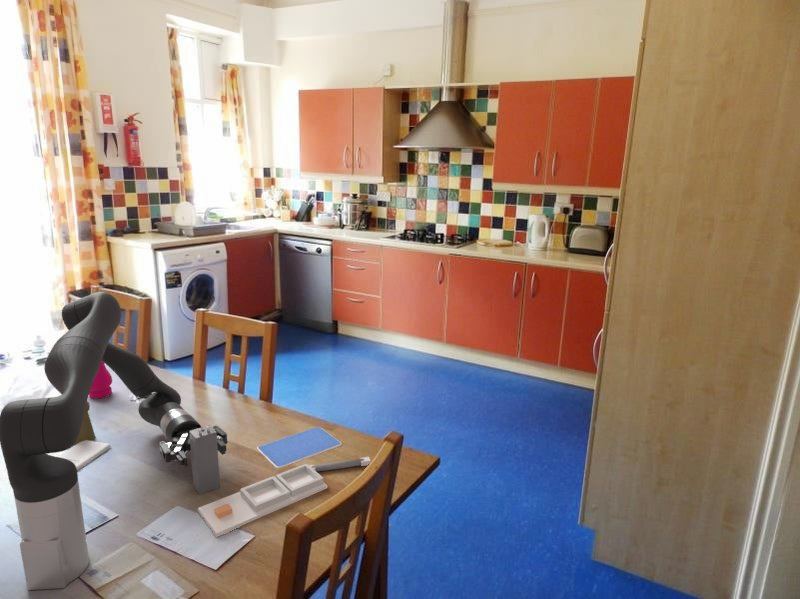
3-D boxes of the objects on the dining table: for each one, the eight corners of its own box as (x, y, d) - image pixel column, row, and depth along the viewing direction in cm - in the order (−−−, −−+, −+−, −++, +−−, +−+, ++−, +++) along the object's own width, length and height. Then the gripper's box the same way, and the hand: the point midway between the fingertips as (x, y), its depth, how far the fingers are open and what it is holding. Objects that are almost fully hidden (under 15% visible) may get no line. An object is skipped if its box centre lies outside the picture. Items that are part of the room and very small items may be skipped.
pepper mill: (88, 391, 165) (81, 331, 160) (114, 388, 168) (107, 329, 163) (86, 401, 159) (78, 338, 154) (113, 397, 162) (106, 336, 157)
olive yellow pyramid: (63, 441, 136) (58, 403, 133) (86, 431, 141) (81, 394, 139) (78, 448, 134) (72, 408, 131) (100, 437, 139) (95, 399, 136)
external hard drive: (110, 449, 134) (71, 476, 123) (83, 445, 136) (42, 471, 124) (110, 443, 134) (71, 470, 122) (82, 439, 136) (41, 465, 124)
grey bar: (369, 461, 131) (369, 456, 131) (370, 465, 130) (370, 459, 129) (304, 470, 127) (304, 465, 126) (305, 475, 125) (305, 469, 125)
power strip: (305, 469, 128) (304, 460, 127) (327, 489, 120) (327, 479, 120) (198, 511, 111) (197, 501, 110) (216, 537, 104) (216, 526, 103)
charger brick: (219, 486, 120) (216, 427, 116) (199, 494, 117) (195, 433, 113) (213, 478, 123) (209, 420, 119) (193, 486, 120) (188, 426, 116)
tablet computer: (277, 472, 127) (277, 467, 127) (255, 450, 136) (254, 446, 136) (343, 447, 139) (343, 443, 139) (319, 429, 148) (319, 425, 148)
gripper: (148, 422, 124) (171, 452, 112) (208, 406, 133) (235, 432, 121) (151, 451, 126) (173, 482, 114) (210, 433, 135) (236, 460, 123)
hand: (205, 456), depth 117 cm, fingers open, 8 cm apart
